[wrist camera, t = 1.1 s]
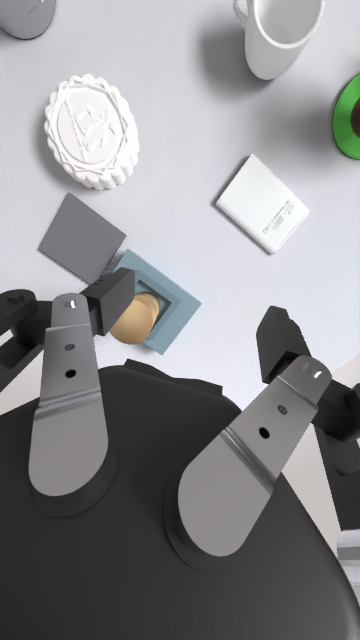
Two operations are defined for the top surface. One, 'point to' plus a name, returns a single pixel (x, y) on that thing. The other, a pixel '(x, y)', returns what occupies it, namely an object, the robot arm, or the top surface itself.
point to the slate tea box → (161, 301)
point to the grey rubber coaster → (81, 240)
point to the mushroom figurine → (348, 119)
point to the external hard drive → (262, 205)
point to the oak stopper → (137, 319)
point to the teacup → (277, 33)
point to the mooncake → (92, 132)
